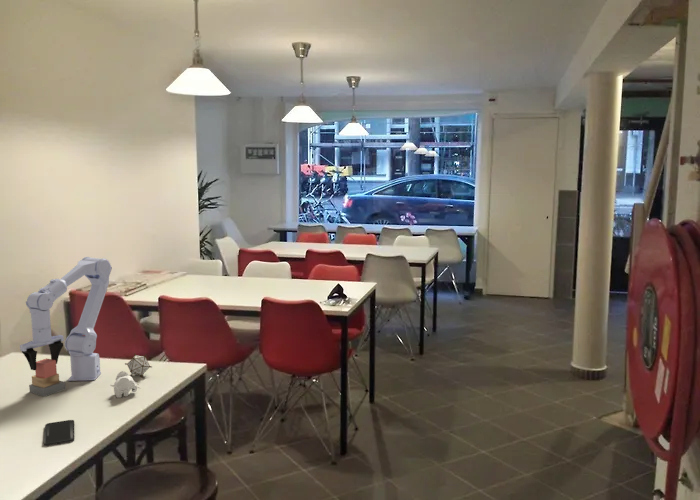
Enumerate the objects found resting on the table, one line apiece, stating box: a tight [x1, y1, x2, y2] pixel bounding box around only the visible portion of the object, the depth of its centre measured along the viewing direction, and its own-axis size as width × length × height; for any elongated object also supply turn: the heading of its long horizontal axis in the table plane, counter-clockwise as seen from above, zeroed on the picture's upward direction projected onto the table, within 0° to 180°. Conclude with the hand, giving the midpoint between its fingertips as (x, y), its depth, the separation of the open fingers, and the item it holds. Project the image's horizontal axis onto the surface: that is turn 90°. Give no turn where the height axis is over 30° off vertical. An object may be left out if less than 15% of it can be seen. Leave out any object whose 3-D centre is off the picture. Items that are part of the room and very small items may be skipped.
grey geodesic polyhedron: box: [124, 353, 153, 378], centre depth 229 cm, size 9×8×10 cm
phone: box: [43, 419, 75, 447], centre depth 180 cm, size 8×1×15 cm
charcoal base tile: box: [28, 380, 67, 397], centre depth 214 cm, size 8×8×3 cm
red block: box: [34, 358, 58, 378], centre depth 213 cm, size 5×5×5 cm
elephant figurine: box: [109, 370, 141, 398], centre depth 210 cm, size 8×10×7 cm
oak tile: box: [31, 373, 60, 388], centre depth 213 cm, size 6×6×3 cm
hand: (44, 366), depth 212 cm, fingers open, 7 cm apart
